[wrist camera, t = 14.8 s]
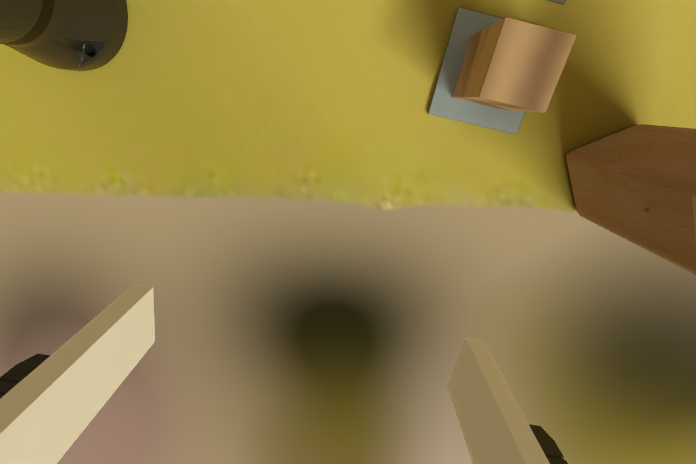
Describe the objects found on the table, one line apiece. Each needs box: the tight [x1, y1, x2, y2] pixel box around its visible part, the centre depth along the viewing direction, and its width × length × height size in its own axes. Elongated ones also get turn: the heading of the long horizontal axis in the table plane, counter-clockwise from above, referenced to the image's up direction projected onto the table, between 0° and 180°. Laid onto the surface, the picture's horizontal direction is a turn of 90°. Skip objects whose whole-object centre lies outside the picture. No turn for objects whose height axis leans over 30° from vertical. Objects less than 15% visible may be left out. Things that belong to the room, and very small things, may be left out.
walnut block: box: [452, 17, 577, 113], centre depth 37 cm, size 7×7×10 cm
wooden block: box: [566, 124, 696, 275], centre depth 37 cm, size 10×10×20 cm
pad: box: [428, 8, 525, 134], centre depth 42 cm, size 12×12×1 cm
